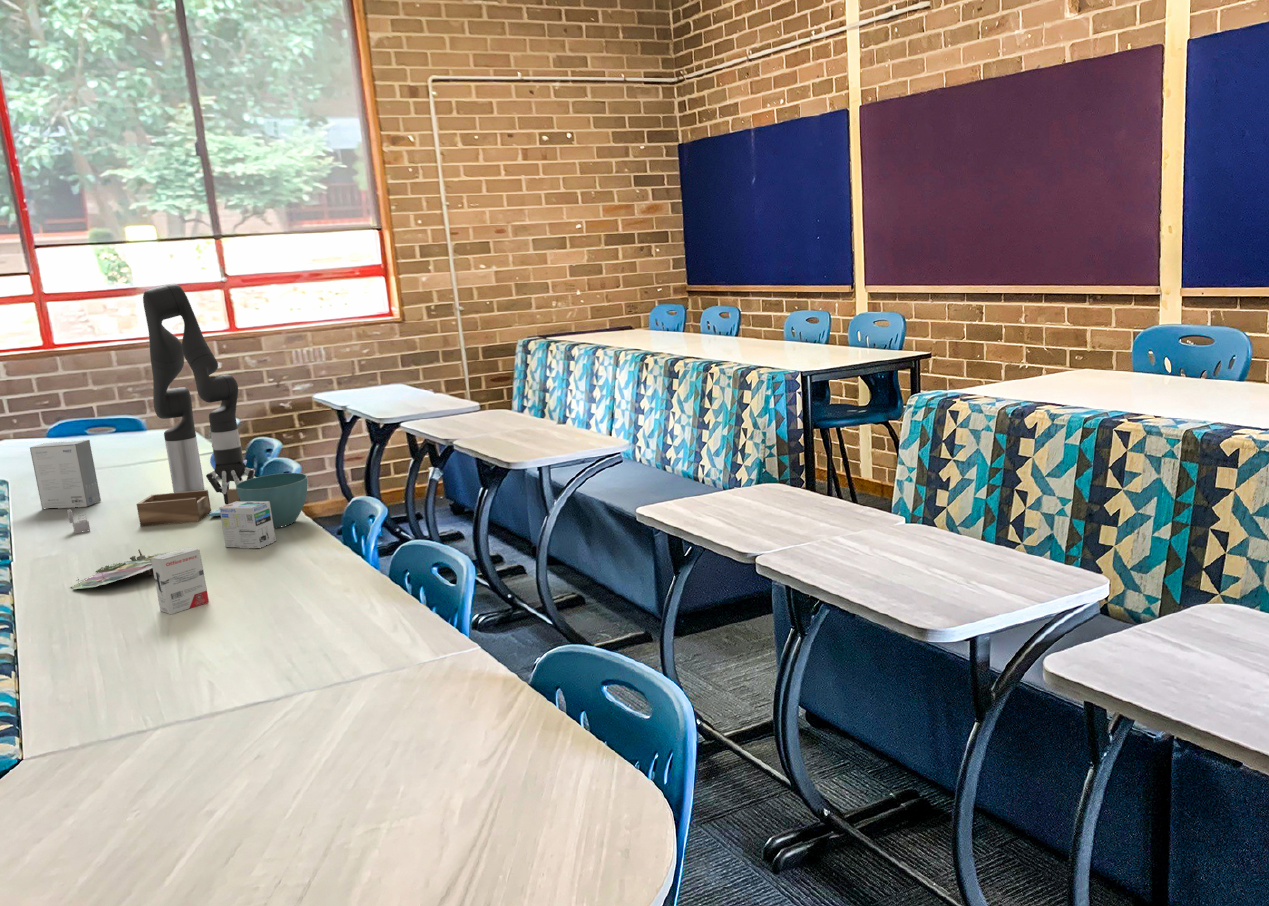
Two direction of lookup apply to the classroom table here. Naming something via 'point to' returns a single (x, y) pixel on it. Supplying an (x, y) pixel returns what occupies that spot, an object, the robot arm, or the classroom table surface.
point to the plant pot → (277, 495)
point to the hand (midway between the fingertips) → (235, 504)
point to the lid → (231, 498)
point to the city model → (119, 571)
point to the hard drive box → (65, 474)
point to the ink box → (179, 580)
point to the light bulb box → (247, 524)
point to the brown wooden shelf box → (174, 508)
